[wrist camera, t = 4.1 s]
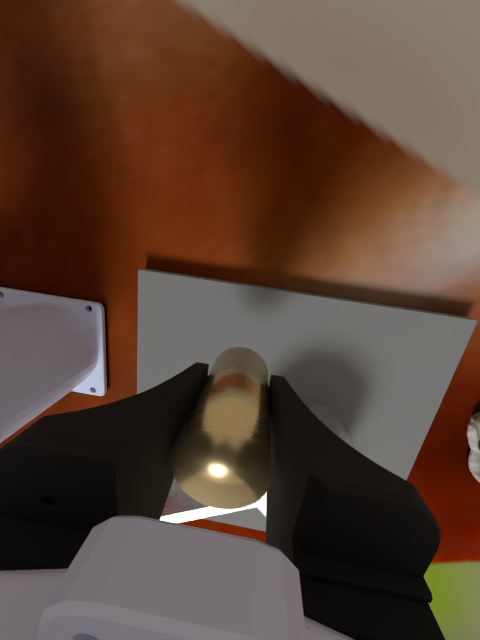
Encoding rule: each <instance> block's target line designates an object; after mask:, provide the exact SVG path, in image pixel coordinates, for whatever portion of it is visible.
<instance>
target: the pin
mask: <svg viewBox="0 0 480 640" xmlns="http://www.w3.org/2000/svg"><path fill="white" fill-rule="evenodd" d="M172 469H173V474H174V477H175V479H176V481H177V483H178V484H179V486H180V487H181V488H182V490H183V491H184V492H185V493H186V494H187V495H189V496H190V497H191V498H193V499H194V500H196V501H198V502H200V503H202V504H204V505H207V506H210V507H214V508H219V509H237V508H242V507H246V506H249V505H251V504H253V503H255V502H256V501H258V500H259V499H260V498H261V497H262V496H263V495H264V494H265V493H266V492H267V490H268V488H269V486H270V483H271V478H272V469H271V442H270V414H269V387H268V369H267V365H266V363H265V361H264V360H263V358H262V357H261V356H260V355H259V354H258V353H256V352H255V351H253V350H251V349H248V348H244V347H234V348H230V349H227V350H225V351H223V352H222V353H221V354H219V356H218V357H217V358H216V359H215V361H214V364H213V366H212V368H211V370H210V373H209V375H208V377H207V380H206V382H205V384H204V386H203V389H202V391H201V393H200V396H199V398H198V400H197V402H196V405H195V407H194V409H193V412H192V414H191V416H190V419H189V421H188V423H187V425H186V428H185V430H184V432H183V435H182V437H181V439H180V441H179V444H178V446H177V448H176V451H175V453H174V456H173V461H172Z"/></svg>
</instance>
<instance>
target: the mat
mask: <svg viewBox="0 0 480 640" xmlns="http://www.w3.org/2000/svg"><path fill="white" fill-rule="evenodd" d="M476 323H477V320H474V319H471V318H468V317H465V316H459V315H453V314H446V313H439V312H433V311H426V310H419V309H413V308H406V307H399V306H393V305H386V304H379V303H373V302H366V301H359V300H353V299H346V298H339V297H333V296H326V295H319V294H312V293H306V292H299V291H292V290H286V289H279V288H272V287H266V286H259V285H252V284H246V283H239V282H232V281H226V280H219V279H212V278H206V277H199V276H192V275H186V274H179V273H172V272H166V271H159V270H152V269H139V270H138V349H137V394H139V393H142V392H144V391H146V390H149V389H151V388H153V387H155V386H157V385H159V384H161V383H163V382H165V381H166V380H168V379H170V378H172V377H174V376H175V375H177V374H179V373H180V372H182V371H184V370H185V369H187V368H188V367H190V366H191V365H193V364H194V363H196V362H199V363H205V364H209V369H208V375H209V373H210V370H211V368H212V366H213V364H214V361H215V359H216V358H217V357H218V356H219V354H221V353H222V352H223V351H225V350H227V349H230V348H234V347H244V348H248V349H251V350H253V351H255V352H256V353H258V354H259V355H260V356H261V357H262V358H263V360H264V361H265V363H266V365H267V369H268V387H269V383H270V378H271V375H277V376H283V377H285V379H286V380H287V382H288V383H289V384H290V386H291V387H292V388H293V390H294V391H295V392H296V394H297V395H298V396H299V398H304V399H310V400H316V401H321V402H327V404H328V405H329V407H330V408H331V409H332V411H333V412H334V413H335V415H336V416H337V417H338V419H339V420H340V421H341V423H342V424H343V425H344V427H345V428H346V429H347V431H348V433H349V435H350V437H351V440H352V442H353V444H354V446H355V448H356V450H357V451H358V452H360V453H361V454H363V455H364V456H366V457H367V458H369V459H370V460H372V461H374V462H375V463H377V464H378V465H380V466H381V467H383V468H385V469H387V470H388V471H390V472H392V473H394V474H396V475H397V476H399V477H401V478H403V479H404V480H406V479H407V477H408V475H409V473H410V471H411V468H412V466H413V464H414V462H415V459H416V457H417V455H418V453H419V450H420V448H421V446H422V444H423V442H424V439H425V437H426V435H427V433H428V430H429V428H430V426H431V424H432V421H433V419H434V417H435V415H436V413H437V410H438V408H439V406H440V404H441V401H442V399H443V397H444V395H445V392H446V390H447V388H448V386H449V384H450V381H451V379H452V377H453V375H454V372H455V370H456V368H457V366H458V363H459V361H460V359H461V357H462V355H463V352H464V350H465V348H466V346H467V343H468V341H469V339H470V337H471V334H472V332H473V330H474V328H475V326H476ZM203 519H208V520H213V521H217V522H222V523H227V524H232V525H237V526H242V527H246V528H251V529H256V530H261V531H266V517H265V516H264V515H263V514H262V512H261V511H260V510H259V509H258V508H257V507H255V508H250V509H245V510H240V511H235V512H230V513H225V514H220V515H215V516H210V517H205V518H203Z"/></svg>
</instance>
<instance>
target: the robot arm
mask: <svg viewBox="0 0 480 640" xmlns="http://www.w3.org/2000/svg"><path fill="white" fill-rule="evenodd" d="M3 294H4V295H3ZM89 306H90V307H91V308H92V311H91V310H90V309H89ZM208 369H209V364H205V363H199V362H196V363H194V364H193V365H191V366H190V367H188V368H187V369H185V370H184V371H182V372H180V373H179V374H177V375H175V376H174V377H172V378H170V379H168V380H166V381H165V382H163V383H161V384H159V385H157V386H155V387H153V388H151V389H149V390H146V391H144V392H142V393H139V394H137V395H134V396H131V397H128V398H125V399H122V400H119V401H116V402H113V403H109V404H105V405H102V406H98V407H93V408H89V409H84V410H79V411H74V412H68V413H61V414H55V415H49V416H43V417H42V418H40V419H39V420H38V421H36V422H35V423H34V424H32V425H31V426H30V427H29V428H27V429H26V430H25V431H23V432H22V433H21V434H19V435H18V436H17V437H15V438H14V439H13V440H11V441H10V442H9V443H7V444H6V445H5V446H4V447H2V448H1V449H0V640H445V638H444V636H443V634H442V632H441V630H440V628H439V625H438V623H437V621H436V619H435V617H434V615H433V612H432V610H431V608H430V606H429V604H428V603H431V601H432V594H431V592H430V589H429V588H428V586H427V583H426V581H425V579H424V577H423V575H424V574H425V572H426V570H427V568H428V567H429V565H430V563H431V561H432V559H433V558H434V556H435V554H436V552H437V549H438V547H439V544H440V541H441V532H440V527H439V525H438V523H437V521H436V519H435V517H434V516H433V514H432V513H431V511H430V509H429V508H428V506H427V505H426V503H425V502H424V500H423V499H422V497H421V495H420V494H419V492H418V491H417V489H416V488H415V486H414V485H413V484H412V483H410V482H408V481H406V480H404V479H403V478H401V477H399V476H397V475H396V474H394V473H392V472H390V471H388V470H387V469H385V468H383V467H381V466H380V465H378V464H377V463H375V462H374V461H372V460H370V459H369V458H367V457H366V456H364V455H363V454H361V453H360V452H358V451H357V450H356V449H354V448H353V447H351V446H350V445H349V444H347V443H346V442H345V441H344V440H342V439H341V438H340V437H338V436H337V435H336V434H335V433H334V432H332V431H331V430H330V429H329V428H328V427H327V426H326V425H325V424H324V423H322V422H321V421H320V420H319V419H318V418H317V417H316V416H315V415H314V414H313V413H312V411H311V410H310V409H309V408H308V407H307V406H306V405H305V404H304V402H303V401H302V400H301V399H300V398H299V396H298V395H297V394H296V392H295V391H294V390H293V388H292V387H291V386H290V384H289V383H288V382H287V380H286V379H285V377H283V376H277V375H271V378H270V383H269V414H270V442H271V469H272V478H271V483H270V486H269V488H268V490H267V510H266V544H265V543H263V542H261V541H258V540H256V539H251V538H246V537H241V536H236V535H231V534H226V533H221V532H217V531H212V530H207V529H202V528H197V527H192V526H187V525H182V524H177V523H172V522H167V521H162V520H160V518H161V515H162V512H163V509H164V506H165V503H166V500H167V497H168V494H169V491H170V488H171V485H172V482H173V480H174V474H173V469H172V461H173V456H174V453H175V451H176V448H177V446H178V444H179V441H180V439H181V437H182V435H183V432H184V430H185V428H186V425H187V423H188V421H189V419H190V416H191V414H192V412H193V409H194V407H195V405H196V402H197V400H198V398H199V396H200V393H201V391H202V389H203V386H204V384H205V382H206V380H207V377H208ZM94 388H95V389H96V390H95V389H94ZM70 391H75V392H80V393H86V394H91V395H97V396H103V395H104V394H105V393H106V392H107V371H106V341H105V311H104V307H103V305H102V304H101V303H98V302H92V301H86V300H80V299H73V298H67V297H61V296H54V295H48V294H42V293H36V292H29V291H23V290H17V289H11V288H4V287H0V443H1V442H2V441H3V440H5V439H6V438H8V437H9V436H10V435H12V434H13V433H14V432H16V431H17V430H18V429H20V428H21V427H23V426H24V425H25V424H27V423H28V422H29V421H31V420H32V419H33V418H35V417H36V416H38V415H39V414H40V413H42V412H43V411H44V410H46V409H47V408H48V407H50V406H51V405H52V404H54V403H55V402H57V401H58V400H59V399H61V398H62V397H63V396H65V395H66V394H67V393H69V392H70Z"/></svg>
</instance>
